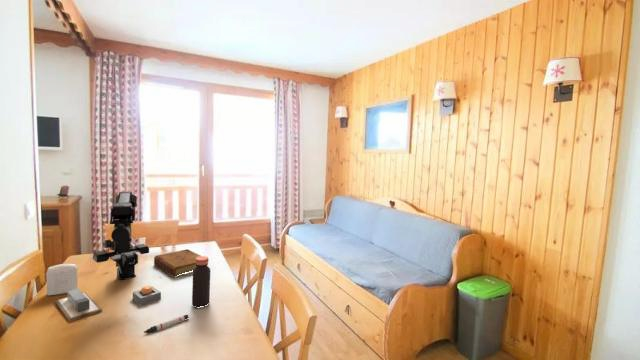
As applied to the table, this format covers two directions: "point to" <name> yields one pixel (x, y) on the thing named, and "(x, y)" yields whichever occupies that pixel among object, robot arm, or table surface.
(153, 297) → the button housing
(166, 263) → the diary
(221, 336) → the table surface
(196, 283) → the bottle
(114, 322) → the table surface
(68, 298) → the grey rectangular block
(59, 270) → the photo printer
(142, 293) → the button
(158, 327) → the marker
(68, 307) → the drawing board
